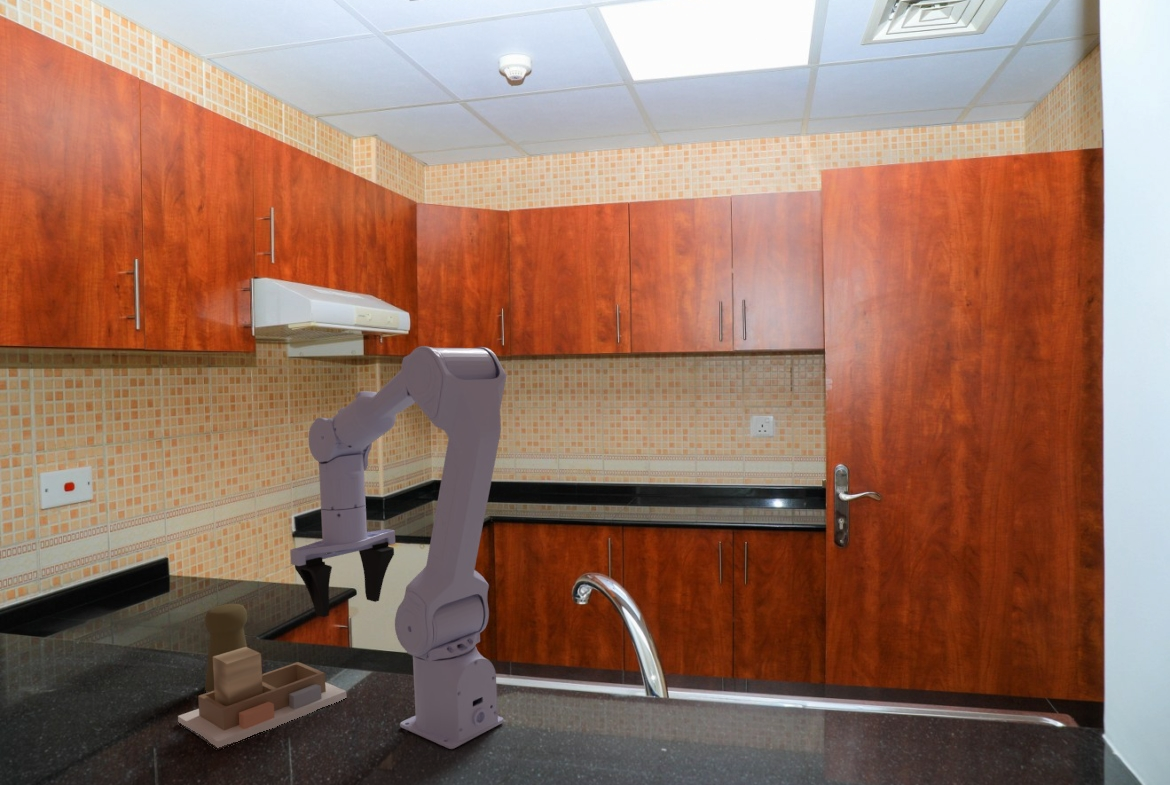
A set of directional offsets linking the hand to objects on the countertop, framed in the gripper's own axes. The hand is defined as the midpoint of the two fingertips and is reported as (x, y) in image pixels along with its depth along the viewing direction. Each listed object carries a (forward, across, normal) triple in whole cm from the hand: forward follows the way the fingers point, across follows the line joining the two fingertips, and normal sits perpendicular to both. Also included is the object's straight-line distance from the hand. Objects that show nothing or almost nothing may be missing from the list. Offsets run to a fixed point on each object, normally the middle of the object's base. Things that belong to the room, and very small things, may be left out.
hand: (348, 607), depth 98 cm
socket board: (+10, +11, -2) cm, 15 cm away
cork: (+11, +10, -14) cm, 20 cm away
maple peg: (+9, +14, -2) cm, 17 cm away
